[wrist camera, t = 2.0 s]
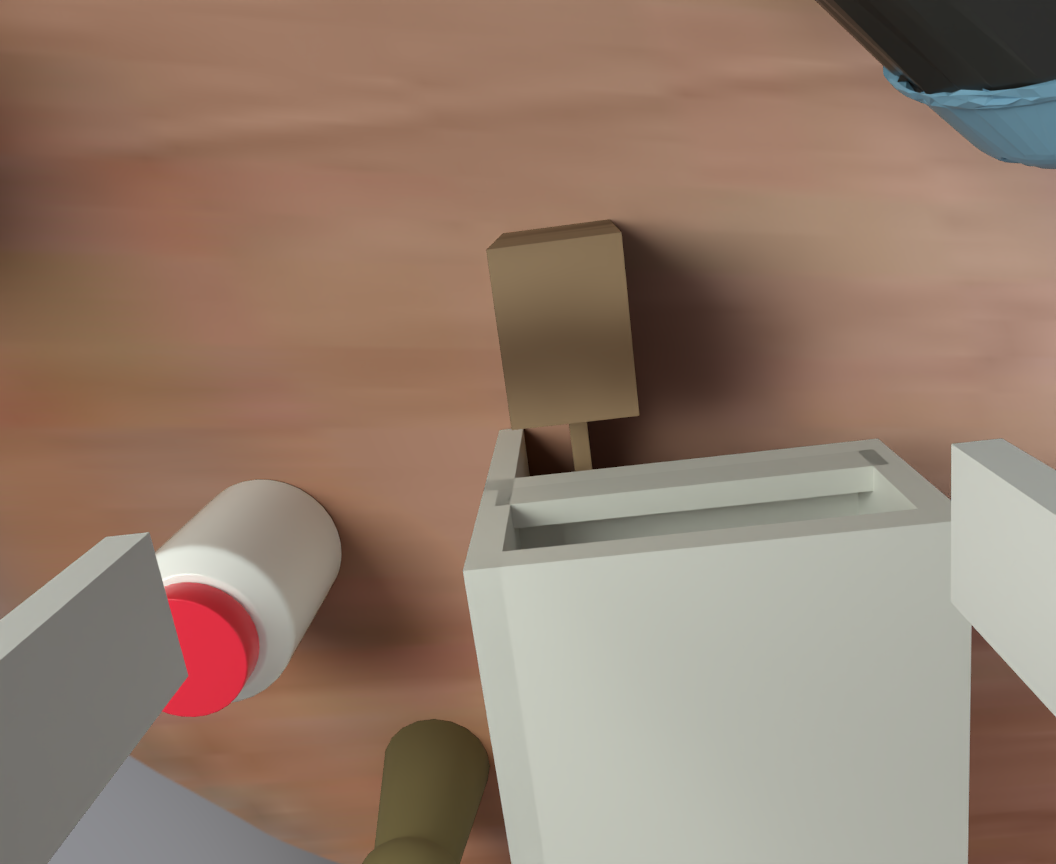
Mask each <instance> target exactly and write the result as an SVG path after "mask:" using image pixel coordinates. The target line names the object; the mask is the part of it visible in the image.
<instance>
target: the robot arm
mask: <svg viewBox="0 0 1056 864" xmlns="http://www.w3.org/2000/svg"><path fill="white" fill-rule="evenodd" d="M815 1H816V2H817V3H819V4H820V5H821V6H822V7H823V8H824V9H825V10H826V11H827V12H828V13H829V14H830V15H831V16H832V17H833V18H834V19H835V20H836V21H837V22H838V23H839V24H840V25H841V26H842V27H843V28H844V29H846V30H847V31H848V32H849V33H850V34H851V35H852V36H853V37H854V38H855V39H856V40H857V41H858V42H859V43H860V44H861V45H862V46H863V47H864V48H865V49H866V50H867V51H868V52H869V53H870V54H871V55H873V56H874V57H875V58H876V59H877V60H878V61H879V62H880V63H881V64H882V65H883V72H884V76H885V78H886V79H887V80H888V81H889V82H890V83H891V84H892V85H893V86H894V88H895V89H897V90H898V91H899V92H901V93H902V94H903V95H905V96H906V97H909V98H911V99H914V100H916V101H919V102H921V103H924V104H926V105H928V106H929V107H930V108H931V109H932V110H933V111H934V112H936V113H937V114H938V115H939V116H940V117H941V118H943V119H944V120H945V121H946V122H947V123H948V124H949V125H951V126H952V127H953V128H954V129H955V130H956V131H958V132H959V133H960V134H961V135H962V136H963V137H964V138H966V139H967V140H968V141H969V142H970V143H971V144H973V145H974V146H975V147H977V148H978V149H979V150H981V151H982V152H984V153H986V154H987V155H989V156H992V157H994V158H996V159H998V160H1000V161H1004V162H1009V163H1021V164H1024V165H1027V166H1036V167H1039V168H1043V169H1056V0H815ZM951 603H952V604H953V605H954V606H955V607H956V608H957V609H958V610H959V612H960V613H961V614H962V615H963V616H964V617H965V618H966V619H967V620H968V621H969V622H970V624H971V625H972V626H973V627H974V628H975V629H976V630H977V631H978V632H979V633H980V635H981V636H982V637H983V638H984V639H985V640H986V641H987V642H988V643H989V644H990V645H991V647H992V648H993V649H994V650H995V651H996V652H997V653H998V654H999V655H1000V656H1001V657H1002V659H1003V660H1004V661H1005V662H1006V663H1007V664H1008V665H1009V666H1010V667H1011V668H1012V670H1013V671H1014V672H1015V673H1016V674H1017V675H1018V676H1019V677H1020V678H1021V679H1022V680H1023V682H1024V683H1025V684H1026V685H1027V686H1028V687H1029V688H1030V689H1031V690H1032V691H1033V692H1034V694H1035V695H1036V696H1037V697H1038V698H1039V699H1040V700H1041V701H1042V702H1043V703H1044V704H1045V706H1046V707H1047V708H1048V709H1049V710H1050V711H1051V712H1052V713H1053V714H1054V715H1055V717H1056V470H1054V469H1052V468H1051V467H1049V466H1047V465H1046V464H1044V463H1042V462H1041V461H1039V460H1037V459H1036V458H1034V457H1032V456H1031V455H1029V454H1027V453H1026V452H1024V451H1022V450H1020V449H1019V448H1017V447H1015V446H1014V445H1012V444H1010V443H1009V442H1007V441H1005V440H1004V439H1002V438H1001V439H992V440H983V441H974V442H965V443H955V444H951ZM187 677H188V672H187V669H186V665H185V661H184V658H183V654H182V650H181V647H180V643H179V639H178V636H177V632H176V628H175V625H174V621H173V617H172V614H171V610H170V606H169V603H168V599H167V595H166V592H165V588H164V584H163V581H162V577H161V573H160V570H159V566H158V562H157V559H156V555H155V551H154V548H153V544H152V540H151V537H150V533H149V532H147V533H138V534H129V535H120V536H111V537H105V538H104V539H103V540H101V541H100V542H99V543H98V544H96V545H95V546H94V547H93V548H91V549H90V550H89V551H87V552H86V553H85V554H84V555H82V556H81V557H80V558H79V559H77V560H76V561H75V562H73V563H72V564H71V565H70V566H68V567H67V568H66V569H65V570H63V571H62V572H61V573H59V574H58V575H57V576H56V577H54V578H53V579H52V580H51V581H49V582H48V583H47V584H45V585H44V586H43V587H42V588H40V589H39V590H38V591H37V592H35V593H34V594H33V595H31V596H30V597H29V598H28V599H26V600H25V601H24V602H23V603H21V604H20V605H19V606H18V607H16V608H15V609H14V610H12V611H11V612H10V613H9V614H7V615H6V616H5V617H4V618H2V619H1V620H0V864H47V863H48V862H49V861H50V859H51V858H52V857H53V855H54V854H55V853H56V851H57V850H58V849H59V847H60V846H61V845H62V843H63V842H64V841H65V839H66V838H67V837H68V835H69V834H70V833H71V831H72V830H73V829H74V827H75V826H76V825H77V823H78V822H79V821H80V819H81V818H82V816H83V815H84V814H85V813H86V811H87V810H88V809H89V807H90V806H91V805H92V803H93V802H94V801H95V799H96V798H97V797H98V795H99V794H100V793H101V791H102V790H103V789H104V787H105V786H106V785H107V783H108V782H109V781H110V780H111V778H112V777H113V776H114V774H115V773H116V772H117V770H118V769H119V767H120V766H121V765H122V764H123V762H124V761H125V759H126V758H127V757H128V756H129V754H130V753H131V752H132V750H133V749H134V748H135V746H136V745H137V744H138V742H139V741H140V740H141V738H142V737H143V736H144V734H145V733H146V732H147V730H148V729H149V728H150V726H151V725H152V724H153V722H154V721H155V720H156V718H157V717H158V716H159V714H160V713H161V712H162V710H163V709H164V708H165V706H166V705H167V704H168V702H169V701H170V700H171V698H172V697H173V696H174V694H175V693H176V692H177V690H178V689H179V688H180V686H181V685H182V684H183V682H184V681H185V680H186V678H187Z"/></svg>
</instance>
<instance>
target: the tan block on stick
mask: <svg viewBox="0 0 1056 864" xmlns="http://www.w3.org/2000/svg"><path fill="white" fill-rule="evenodd" d="M486 252H487V259H488V266H489V273H490V280H491V287H492V294H493V301H494V308H495V315H496V322H497V330H498V337H499V344H500V351H501V358H502V365H503V372H504V379H505V386H506V393H507V400H508V407H509V414H510V421H511V428H512V430H518V429H527V428H536V427H544V426H553V425H562V424H569V428H570V436H571V444H572V452H573V461H574V469H575V472H576V471H585V470H593V468H592V459H591V451H590V442H589V433H588V425H587V422H588V421H597V420H606V419H615V418H624V417H632V416H639V407H638V397H637V386H636V376H635V366H634V356H633V345H632V335H631V325H630V315H629V304H628V294H627V284H626V274H625V263H624V253H623V243H622V233H621V231H620V230H619V229H618V228H617V227H616V226H615V225H614V224H613V223H612V222H611V221H610V220H602V221H594V222H586V223H579V224H571V225H564V226H556V227H548V228H541V229H533V230H526V231H518V232H510V233H503V234H502V235H501V236H500V237H499V238H498V239H497V240H496V241H495V242H494V243H493V244H492V245H491V246H490V247H489V248H488V249H487V250H486Z"/></svg>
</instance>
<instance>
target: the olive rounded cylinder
mask: <svg viewBox="0 0 1056 864" xmlns="http://www.w3.org/2000/svg"><path fill="white" fill-rule="evenodd" d="M489 767H490V765H489V760H488V756H487V752H486V750H485V748H484V747H483V745H482V744H481V742H480V740H479V739H478V738H477V737H476V736H475V735H473V734H472V733H471V732H470V731H469V730H467V729H466V728H464V727H462V726H459V725H457V724H455V723H453V722H449V721H443V720H436V719H432V720H424V721H417V722H415V723H413V724H410V725H408V726H406V727H404V728H402V729H401V730H400V731H399V732H398V733H397V734H396V735H395V736H394V737H392V739H391V741H390V743H389V745H388V747H387V749H386V751H385V760H384V768H383V777H382V786H381V795H380V804H379V813H378V821H377V830H376V839H375V848H374V850H373V851H371V852H370V853H369V854H368V856H367V857H366V858H365V860H364V861H363V863H362V864H460V861H461V858H462V855H463V852H464V849H465V846H466V843H467V840H468V837H469V834H470V831H471V828H472V825H473V822H474V819H475V816H476V813H477V810H478V807H479V804H480V801H481V798H482V795H483V792H484V789H485V786H486V783H487V780H488V774H489Z"/></svg>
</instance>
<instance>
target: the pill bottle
mask: <svg viewBox="0 0 1056 864" xmlns="http://www.w3.org/2000/svg"><path fill="white" fill-rule="evenodd" d="M155 555H156V559H157V562H158V566H159V570H160V573H161V577H162V581H163V584H164V588H165V592H166V595H167V599H168V603H169V606H170V610H171V614H172V617H173V621H174V625H175V628H176V632H177V636H178V639H179V643H180V647H181V650H182V654H183V658H184V661H185V665H186V669H187V672H188V677H187V678H186V680H185V681H184V682H183V684H182V685H181V686H180V688H179V689H178V690H177V692H176V693H175V694H174V696H173V697H172V698H171V700H170V701H169V702H168V704H167V705H166V706H165V708H164V709H163V710H162V711H163V712H165V713H168V714H172V715H177V716H182V717H197V716H204V715H208V714H211V713H214V712H217V711H219V710H221V709H223V708H224V707H226V706H228V705H229V704H230V703H231V702H238V701H241V700H244V699H247V698H250V697H253V696H255V695H256V694H258V693H260V692H261V691H263V690H265V689H267V688H268V687H269V686H270V685H271V684H272V683H273V682H274V681H275V680H277V679H278V678H279V677H280V675H281V674H282V672H283V671H284V669H285V668H286V666H287V665H288V663H289V662H290V660H291V658H292V656H293V655H294V653H295V651H296V649H297V648H298V646H299V644H300V642H301V641H302V639H303V637H304V635H305V634H306V632H307V630H308V628H309V626H310V625H311V623H312V621H313V619H314V618H315V616H316V614H317V612H318V611H319V609H320V607H321V605H322V604H323V602H324V600H325V598H326V596H327V595H328V593H329V591H330V589H331V588H332V586H333V584H334V582H335V580H336V577H337V575H338V572H339V570H340V564H341V558H342V553H341V542H340V538H339V534H338V531H337V528H336V526H335V524H334V522H333V520H332V518H331V517H330V516H329V514H328V513H327V512H326V510H325V509H324V508H323V506H322V505H321V504H319V503H318V502H317V501H316V500H315V499H314V498H313V497H312V496H310V495H309V494H307V493H306V492H304V491H302V490H301V489H299V488H297V487H294V486H292V485H289V484H287V483H284V482H279V481H274V480H261V479H256V480H250V481H244V482H240V483H238V484H235V485H233V486H230V487H228V488H227V489H225V490H224V491H222V492H221V493H219V494H218V495H216V496H215V497H214V498H213V499H212V500H211V501H210V502H209V503H208V504H207V505H206V506H205V507H203V508H202V509H201V510H200V511H199V512H198V513H197V514H196V515H195V516H194V517H193V518H192V519H190V520H189V521H188V522H187V523H186V524H185V525H184V526H183V527H182V528H181V529H180V530H178V531H177V532H176V533H175V534H174V535H173V536H172V537H171V538H170V539H169V540H168V541H167V542H165V543H164V544H163V545H162V546H161V547H160V548H159V549H158V550H157V551H156V552H155Z"/></svg>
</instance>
